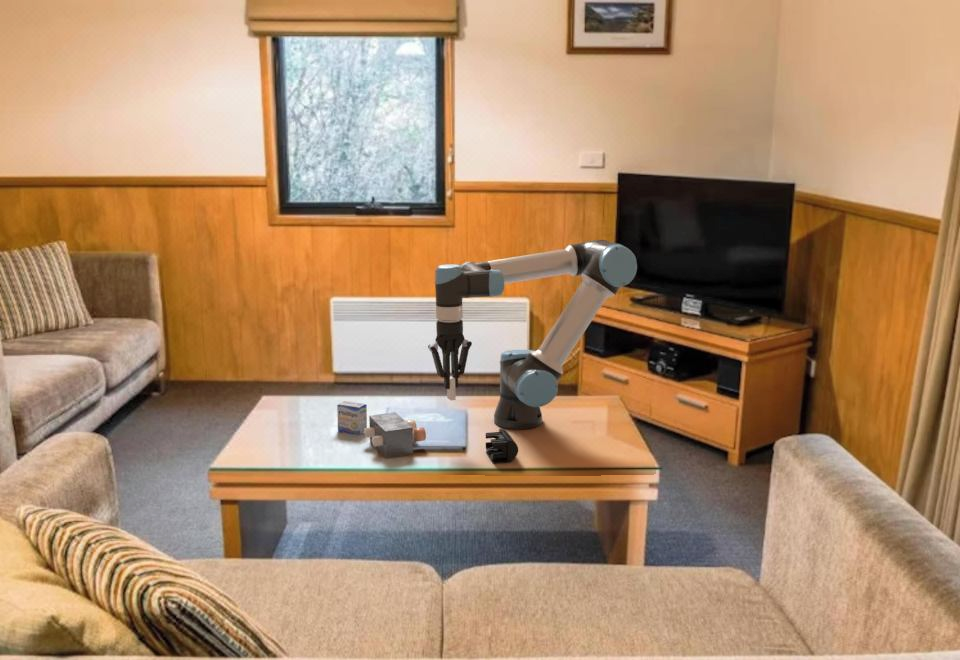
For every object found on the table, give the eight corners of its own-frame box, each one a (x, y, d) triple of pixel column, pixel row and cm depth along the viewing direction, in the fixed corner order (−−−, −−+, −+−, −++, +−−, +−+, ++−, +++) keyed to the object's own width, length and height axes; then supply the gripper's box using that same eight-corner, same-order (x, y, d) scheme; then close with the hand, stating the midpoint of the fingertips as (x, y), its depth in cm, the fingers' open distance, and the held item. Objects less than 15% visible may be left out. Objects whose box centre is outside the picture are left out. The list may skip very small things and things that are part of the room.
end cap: (518, 462, 236) (518, 439, 235) (493, 464, 235) (493, 441, 233) (509, 450, 246) (509, 427, 244) (485, 451, 244) (485, 429, 243)
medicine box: (337, 431, 260) (336, 404, 258) (345, 427, 264) (344, 400, 262) (360, 435, 257) (359, 407, 255) (367, 430, 261) (366, 403, 259)
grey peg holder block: (395, 437, 255) (395, 412, 253) (412, 454, 242) (412, 427, 240) (369, 441, 251) (369, 415, 249) (386, 458, 239) (385, 431, 237)
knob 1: (412, 430, 255) (411, 417, 254) (416, 434, 252) (416, 421, 251) (363, 437, 249) (363, 424, 248) (367, 441, 246) (367, 428, 245)
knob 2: (421, 438, 249) (421, 425, 248) (426, 442, 245) (425, 429, 244) (371, 445, 242) (371, 432, 241) (375, 450, 239) (375, 437, 238)
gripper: (465, 314, 248) (466, 392, 254) (423, 319, 243) (425, 398, 248) (475, 319, 242) (477, 399, 247) (433, 324, 236) (435, 405, 242)
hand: (451, 398), depth 248 cm, fingers closed
